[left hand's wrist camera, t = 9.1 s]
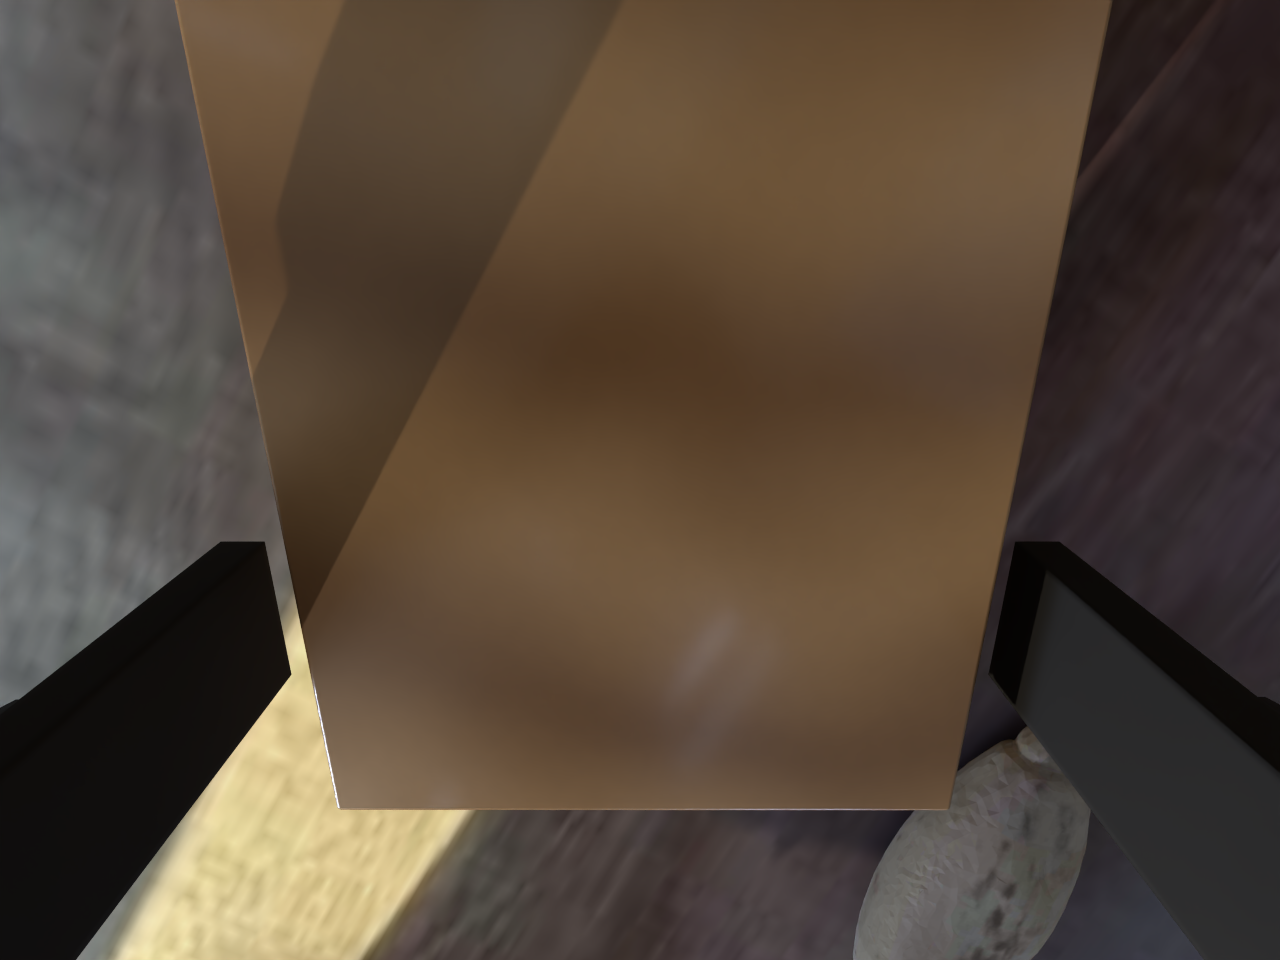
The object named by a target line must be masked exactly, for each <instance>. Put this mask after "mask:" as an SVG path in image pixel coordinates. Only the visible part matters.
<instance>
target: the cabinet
mask: <svg viewBox="0 0 1280 960" xmlns="http://www.w3.org/2000/svg"><path fill="white" fill-rule="evenodd" d="M1112 2H1113V0H175V4H176V9H177V14H178V19H179V24H180V29H181V34H182V39H183V44H184V49H185V54H186V59H187V64H188V69H189V74H190V79H191V84H192V89H193V94H194V99H195V104H196V108H197V113H198V118H199V123H200V128H201V133H202V138H203V143H204V148H205V153H206V158H207V163H208V168H209V173H210V178H211V183H212V188H213V193H214V198H215V203H216V208H217V213H218V217H219V222H220V227H221V232H222V237H223V242H224V247H225V252H226V257H227V262H228V267H229V272H230V277H231V282H232V287H233V292H234V297H235V302H236V307H237V312H238V317H239V321H240V326H241V331H242V336H243V341H244V346H245V351H246V356H247V361H248V366H249V371H250V376H251V381H252V386H253V391H254V396H255V401H256V406H257V411H258V416H259V421H260V426H261V430H262V435H263V440H264V445H265V450H266V455H267V460H268V465H269V470H270V475H271V480H272V485H273V490H274V495H275V500H276V505H277V510H278V515H279V520H280V525H281V530H282V535H283V539H284V544H285V549H286V554H287V559H288V564H289V569H290V574H291V579H292V584H293V589H294V594H295V599H296V604H297V609H298V614H299V619H300V624H301V629H302V634H303V639H304V644H305V648H306V653H307V658H308V663H309V668H310V673H311V678H312V683H313V688H314V693H315V698H316V703H317V708H318V713H319V718H320V723H321V728H322V733H323V738H324V743H325V748H326V753H327V757H328V762H329V767H330V772H331V777H332V782H333V787H334V792H335V797H336V802H337V807H338V808H339V809H364V810H948V809H949V808H950V805H951V800H952V795H953V790H954V785H955V780H956V775H957V770H958V765H959V760H960V755H961V750H962V745H963V740H964V735H965V730H966V725H967V720H968V715H969V711H970V706H971V701H972V696H973V691H974V686H975V681H976V676H977V671H978V666H979V661H980V656H981V651H982V646H983V641H984V636H985V631H986V626H987V621H988V616H989V611H990V607H991V602H992V597H993V592H994V587H995V582H996V577H997V572H998V567H999V562H1000V557H1001V552H1002V547H1003V542H1004V537H1005V532H1006V527H1007V522H1008V517H1009V512H1010V508H1011V503H1012V498H1013V493H1014V488H1015V483H1016V478H1017V473H1018V468H1019V463H1020V458H1021V453H1022V448H1023V443H1024V438H1025V433H1026V428H1027V423H1028V418H1029V413H1030V408H1031V404H1032V399H1033V394H1034V389H1035V384H1036V379H1037V374H1038V369H1039V364H1040V359H1041V354H1042V349H1043V344H1044V339H1045V334H1046V329H1047V324H1048V319H1049V314H1050V309H1051V304H1052V300H1053V295H1054V290H1055V285H1056V280H1057V275H1058V270H1059V265H1060V260H1061V255H1062V250H1063V245H1064V240H1065V235H1066V230H1067V225H1068V220H1069V215H1070V210H1071V205H1072V201H1073V196H1074V191H1075V186H1076V181H1077V176H1078V171H1079V166H1080V161H1081V156H1082V151H1083V146H1084V141H1085V136H1086V131H1087V126H1088V121H1089V116H1090V111H1091V106H1092V101H1093V97H1094V92H1095V87H1096V82H1097V77H1098V72H1099V67H1100V62H1101V57H1102V52H1103V47H1104V42H1105V37H1106V32H1107V27H1108V22H1109V17H1110V12H1111V7H1112Z"/></svg>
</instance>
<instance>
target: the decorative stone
mask: <svg viewBox="0 0 1280 960" xmlns="http://www.w3.org/2000/svg"><path fill="white" fill-rule="evenodd" d="M1090 812H1091V809H1090V808H1089V807H1088V805H1087V804H1086V803H1085V801H1084V800H1083V799H1082V797H1081V796H1080V795H1079V793H1078V792H1077V791H1076V790H1075V788H1074V787H1073V786H1072V784H1071V783H1070V782H1069V780H1068V779H1067V778H1066V776H1065V775H1064V774H1063V772H1062V771H1061V770H1060V768H1059V767H1058V766H1057V764H1056V763H1055V762H1054V760H1053V759H1052V758H1051V756H1050V755H1049V754H1048V752H1047V751H1046V750H1045V748H1044V747H1043V746H1042V745H1041V743H1040V742H1039V741H1038V739H1037V738H1036V737H1035V735H1034V734H1033V733H1032V731H1031V730H1030V729H1029V727H1028V726H1026V727H1025V728H1024V729H1023V730H1022V731H1021V732H1020V733H1019V735H1018V736H1017V738H1016V739H1015V740H1012V739H1008V740H1004V741H1001V742H999V743H998V744H996V745H994V746H993V747H991V748H990V749H988V750H987V751H985V752H984V753H982V754H981V755H979V756H978V757H976V758H975V759H973V760H972V761H970V762H969V763H968V764H966V765H965V766H964V767H963V768H961V769H960V770H959V771H957V775H956V780H955V785H954V790H953V795H952V800H951V805H950V808H949V809H948V810H914V811H913V813H912V814H911V815H910V816H909V818H908V819H907V820H906V821H905V823H904V824H903V825H902V827H901V828H900V829H899V831H898V832H897V834H896V836H895V837H894V839H893V840H892V842H891V843H890V845H889V846H888V848H887V850H886V851H885V853H884V855H883V857H882V859H881V861H880V863H879V865H878V866H877V868H876V870H875V872H874V875H873V877H872V879H871V882H870V885H869V888H868V890H867V893H866V895H865V898H864V901H863V905H862V908H861V911H860V915H859V919H858V924H857V928H856V936H855V944H854V951H853V960H1031V959H1032V958H1033V957H1034V956H1035V955H1036V954H1037V953H1038V952H1039V950H1040V949H1041V948H1042V946H1043V945H1044V944H1045V942H1046V941H1047V939H1048V938H1049V937H1050V935H1051V934H1052V932H1053V931H1054V929H1055V927H1056V925H1057V923H1058V921H1059V919H1060V917H1061V915H1062V913H1063V911H1064V910H1065V907H1066V905H1067V902H1068V900H1069V898H1070V896H1071V893H1072V891H1073V888H1074V886H1075V883H1076V880H1077V878H1078V875H1079V873H1080V868H1081V864H1082V860H1083V857H1084V854H1085V851H1086V845H1087V835H1088V826H1089V818H1090Z"/></svg>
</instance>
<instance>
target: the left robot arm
mask: <svg viewBox="0 0 1280 960" xmlns="http://www.w3.org/2000/svg"><path fill="white" fill-rule="evenodd" d="M290 676H291V670H290V665H289V660H288V655H287V650H286V645H285V640H284V635H283V630H282V625H281V620H280V615H279V611H278V606H277V601H276V596H275V591H274V586H273V581H272V576H271V571H270V566H269V561H268V556H267V551H266V546H265V542H220V543H218V544H217V545H216V546H215V547H213V548H212V549H211V550H209V551H208V552H207V553H206V554H204V555H203V556H202V557H201V558H199V559H198V560H197V561H195V562H194V563H193V564H192V565H190V566H189V567H188V568H187V569H185V570H184V571H183V572H181V573H180V574H179V575H178V576H176V577H175V578H174V579H172V580H171V581H170V582H169V583H167V584H166V585H165V586H164V587H162V588H161V589H160V590H158V591H157V592H156V593H155V594H153V595H152V596H151V597H150V598H148V599H147V600H146V601H144V602H143V603H142V604H141V605H139V606H138V607H137V608H135V609H134V610H133V611H132V612H130V613H129V614H128V615H127V616H125V617H124V618H123V619H121V620H120V621H119V622H118V623H116V624H115V625H114V626H113V627H111V628H110V629H109V630H107V631H106V632H105V633H104V634H102V635H101V636H100V637H98V638H97V639H96V640H95V641H93V642H92V643H91V644H90V645H88V646H87V647H86V648H84V649H83V650H82V651H81V652H79V653H78V654H77V655H76V656H74V657H73V658H72V659H70V660H69V661H68V662H67V663H65V664H64V665H63V666H61V667H60V668H59V669H58V670H56V671H55V672H54V673H53V674H51V675H50V676H49V677H47V678H46V679H45V680H44V681H42V682H41V683H40V684H39V685H37V686H36V687H35V688H33V689H32V690H31V691H30V692H28V693H27V694H26V695H24V696H23V697H22V698H21V699H19V700H14V701H12V702H10V703H8V704H6V705H5V706H3V707H1V708H0V960H76V959H77V958H78V956H79V955H80V954H81V952H82V951H83V950H84V948H85V947H86V946H87V944H88V943H89V942H90V940H91V939H92V938H93V936H94V935H95V934H96V932H97V931H98V930H99V928H100V927H101V926H102V925H103V923H104V922H105V921H106V919H107V918H108V917H109V915H110V914H111V913H112V911H113V910H114V909H115V907H116V906H117V905H118V903H119V902H120V901H121V899H122V898H123V897H124V895H125V894H126V893H127V891H128V890H129V889H130V887H131V886H132V885H133V883H134V882H135V881H136V880H137V878H138V877H139V876H140V874H141V873H142V872H143V870H144V869H145V868H146V866H147V865H148V864H149V862H150V861H151V860H152V858H153V857H154V856H155V854H156V853H157V852H158V850H159V849H160V848H161V846H162V845H163V844H164V842H165V841H166V840H167V838H168V837H169V836H170V835H171V833H172V832H173V831H174V829H175V828H176V827H177V825H178V824H179V823H180V821H181V820H182V819H183V817H184V816H185V815H186V813H187V812H188V811H189V809H190V808H191V807H192V805H193V804H194V803H195V801H196V800H197V799H198V797H199V796H200V795H201V793H202V792H203V791H204V790H205V788H206V787H207V786H208V784H209V783H210V782H211V780H212V779H213V778H214V776H215V775H216V774H217V772H218V771H219V770H220V768H221V767H222V766H223V764H224V763H225V762H226V760H227V759H228V758H229V756H230V755H231V754H232V752H233V751H234V750H235V748H236V747H237V746H238V745H239V743H240V742H241V741H242V739H243V738H244V737H245V735H246V734H247V733H248V731H249V730H250V729H251V727H252V726H253V725H254V723H255V722H256V721H257V719H258V718H259V717H260V715H261V714H262V713H263V711H264V710H265V709H266V707H267V706H268V705H269V703H270V702H271V701H272V700H273V698H274V697H275V696H276V694H277V693H278V692H279V690H280V689H281V688H282V686H283V685H284V684H285V682H286V681H287V680H288V678H289V677H290ZM989 676H990V677H991V678H992V680H993V681H994V682H995V684H996V685H997V686H998V688H999V689H1000V690H1001V692H1002V693H1003V694H1004V696H1005V697H1006V698H1007V700H1008V701H1009V702H1010V703H1011V705H1012V706H1013V707H1014V709H1015V710H1016V711H1017V713H1018V714H1019V715H1020V717H1021V718H1022V719H1023V721H1024V722H1025V723H1026V725H1027V726H1028V727H1029V729H1030V730H1031V731H1032V733H1033V734H1034V735H1035V737H1036V738H1037V739H1038V741H1039V742H1040V743H1041V745H1042V746H1043V747H1044V748H1045V750H1046V751H1047V752H1048V754H1049V755H1050V756H1051V758H1052V759H1053V760H1054V762H1055V763H1056V764H1057V766H1058V767H1059V768H1060V770H1061V771H1062V772H1063V774H1064V775H1065V776H1066V778H1067V779H1068V780H1069V782H1070V783H1071V784H1072V786H1073V787H1074V788H1075V790H1076V791H1077V792H1078V793H1079V795H1080V796H1081V797H1082V799H1083V800H1084V801H1085V803H1086V804H1087V805H1088V807H1089V808H1090V809H1091V811H1092V812H1093V813H1094V815H1095V816H1096V817H1097V819H1098V820H1099V821H1100V823H1101V824H1102V825H1103V827H1104V828H1105V829H1106V831H1107V832H1108V833H1109V835H1110V836H1111V837H1112V838H1113V840H1114V841H1115V842H1116V844H1117V845H1118V846H1119V848H1120V849H1121V850H1122V852H1123V853H1124V854H1125V856H1126V857H1127V858H1128V860H1129V861H1130V862H1131V864H1132V865H1133V866H1134V868H1135V869H1136V870H1137V872H1138V873H1139V874H1140V876H1141V877H1142V878H1143V880H1144V881H1145V882H1146V883H1147V885H1148V886H1149V887H1150V889H1151V890H1152V891H1153V893H1154V894H1155V895H1156V897H1157V898H1158V899H1159V901H1160V902H1161V903H1162V905H1163V906H1164V907H1165V909H1166V910H1167V911H1168V913H1169V914H1170V915H1171V917H1172V918H1173V919H1174V921H1175V922H1176V923H1177V925H1178V926H1179V927H1180V928H1181V930H1182V931H1183V932H1184V934H1185V935H1186V936H1187V938H1188V939H1189V940H1190V942H1191V943H1192V944H1193V946H1194V947H1195V948H1196V950H1197V951H1198V952H1199V954H1200V955H1201V956H1202V958H1203V959H1204V960H1280V705H1279V704H1278V703H1276V702H1274V701H1272V700H1270V699H1268V698H1266V697H1257V696H1256V695H1254V694H1253V693H1252V692H1250V691H1249V690H1248V689H1247V688H1245V687H1244V686H1243V685H1241V684H1240V683H1239V682H1238V681H1236V680H1235V679H1234V678H1233V677H1231V676H1230V675H1229V674H1227V673H1226V672H1225V671H1224V670H1222V669H1221V668H1220V667H1219V666H1217V665H1216V664H1215V663H1213V662H1212V661H1211V660H1210V659H1208V658H1207V657H1206V656H1204V655H1203V654H1202V653H1201V652H1199V651H1198V650H1197V649H1196V648H1194V647H1193V646H1192V645H1190V644H1189V643H1188V642H1187V641H1185V640H1184V639H1183V638H1182V637H1180V636H1179V635H1178V634H1176V633H1175V632H1174V631H1173V630H1171V629H1170V628H1169V627H1167V626H1166V625H1165V624H1164V623H1162V622H1161V621H1160V620H1159V619H1157V618H1156V617H1155V616H1153V615H1152V614H1151V613H1150V612H1148V611H1147V610H1146V609H1145V608H1143V607H1142V606H1141V605H1139V604H1138V603H1137V602H1136V601H1134V600H1133V599H1132V598H1130V597H1129V596H1128V595H1127V594H1125V593H1124V592H1123V591H1122V590H1120V589H1119V588H1118V587H1116V586H1115V585H1114V584H1113V583H1111V582H1110V581H1109V580H1108V579H1106V578H1105V577H1104V576H1102V575H1101V574H1100V573H1099V572H1097V571H1096V570H1095V569H1093V568H1092V567H1091V566H1090V565H1088V564H1087V563H1086V562H1085V561H1083V560H1082V559H1081V558H1079V557H1078V556H1077V555H1076V554H1074V553H1073V552H1072V551H1071V550H1069V549H1068V548H1067V547H1065V546H1064V545H1063V544H1062V543H1060V542H1015V546H1014V551H1013V556H1012V561H1011V566H1010V571H1009V576H1008V581H1007V586H1006V591H1005V596H1004V601H1003V606H1002V611H1001V615H1000V620H999V625H998V630H997V635H996V640H995V645H994V650H993V655H992V660H991V665H990V670H989Z"/></svg>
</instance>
